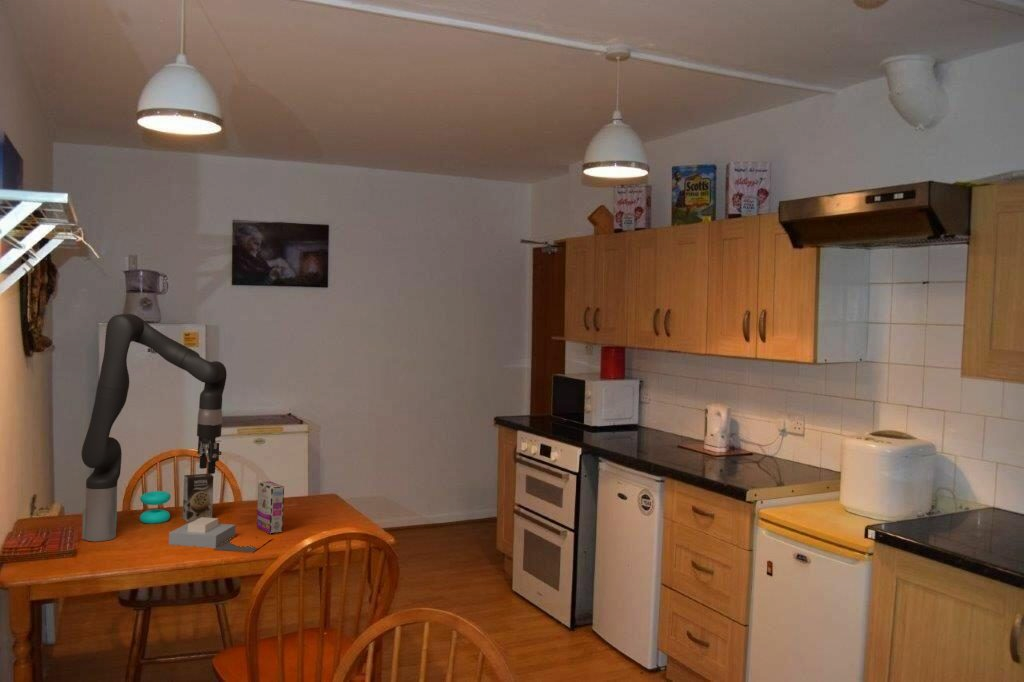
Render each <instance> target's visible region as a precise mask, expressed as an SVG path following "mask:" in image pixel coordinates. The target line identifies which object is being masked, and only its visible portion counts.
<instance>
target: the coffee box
mask: <svg viewBox="0 0 1024 682" xmlns="http://www.w3.org/2000/svg"><path fill="white" fill-rule="evenodd" d="M182 497H183V500H182V519H183V520H184V521H185V522H187V523H189V522H193V521H195V520H197V519H199V518H201V517H205V518H213V503H214V501H213V500H214V499H213V498H214V475H213V474H208V473H199V474H195V473H194V474H186V475H183V496H182Z"/></svg>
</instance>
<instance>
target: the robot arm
mask: <svg viewBox="0 0 1024 682" xmlns="http://www.w3.org/2000/svg"><path fill="white" fill-rule="evenodd" d="M104 338H105V339H104V350H103V358H102V363H101V366H100V367H101V368H100V372H99V373H100V374H99V377H98V382H97V386H96V391H95V396H94V397H95V398H94V403H93V406H92V413H91V416H90V420H89V421H90V422H89V425H88V428H87V432H86V434H85V438H84V441H83V444H82V448H81V460H82V462H83V464H84V465H85V466H86V467H87V468H91V469H94V470H93V472H91V474H90V475H89V476H88V477H87V478H86V481H85V509H83V510H82V523H81V524H82V525H81V526H82V529H81V539H82V540H85V541H87V542H88V541H89V542H106V541H109V540H113V539H115V538H116V537H117V518H118V517H117V513H118V511H117V510H118V481H119V479H120V477H121V476H120V475H121V469H122V452H123V451H122V446H121V444H120V442H119V441H118V440H117V438H115V437H111V436H110V434H111V429H112V427H113V425H114V423H115V421H116V420H117V419H118V416H119V415H120V413H122V410H123V409H124V407H125V405H126V402H127V398H128V394H129V389H130V374H129V370H128V364H127V363H128V362H127V361H128V359H127V358H128V354H129V348H130V345H131V343H132V342H134V343H136V344H141V345H143V346H145V347H148V348H149V349H151V350H153V351H154V352H156V354H158V355H159V356H160V357H162V358H163V359H164V360H166V361H167V362H168V363H169V364H172V365H174V366H175V367H178V368H179V369H181V370H182V371H185V372H187V373H188V374H189V375H191V376H192V377H193V378H194V379H197V380H198V381H200V382H201V383H204V387H203V390H202V391H201V392H200V394H199V401H198V402H199V405H198V413H197V421H196V422H197V424H196V425H197V426H196V427H197V428H196V436H197V437H198V443H197V451H196V452H197V453H196V454H197V455H198V457H199V468H200V469H207V474H210V475H214V474H215V473H216V464H217V462H219V460H220V443H219V442H217V441H216V439H217V438H220V437H221V436H222V425H223V424H222V423H223V408H222V407H223V393H224V391H225V386H226V383H227V382H226V381H227V369H226V366H225V364H224V363H222V362H220V361H216V360H214V361H209V360H206V359H204V358H203V357H201V356H200V354H199V352H197V351H196V350H193V349H192V348H190V347H187V346H186V345H184V344H182V343H180V342H179V341H176V340H174V339H173V338H170V336H169V337H168V336H167V335H165V334H164V333H162V332H160V331H159V330H158V329H156V328H154V327H153V326H152V325H151V324H149V323H148V322H147V321H145V320H144V319H142V318H141V317H139V316H138V315H136V314H132V313H124V314H123V313H121V314H115V315H113V316H111V318H110V319H109V320H108V322H107V324H106V328H105V337H104Z"/></svg>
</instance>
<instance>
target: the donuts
mask: <svg viewBox="0 0 1024 682" xmlns="http://www.w3.org/2000/svg"><path fill="white" fill-rule="evenodd" d="M171 497H172V496H171V494H170V492H167V491H161V490H155V491H154V490H153V491H147V492H143V494H141V495H140V498H139V499H140V502H141V503H142V504H145V505H148V506H159V505H163V504H166V503H168V502H169V501H170V500H171ZM170 518H171V514H170V512H169V511H167V510H165V509H160V508H159V509H158V508H156V509H149V510H145V511H144V512H142V513H141V514H140V515H139V520H140V521H141V522H142V523H144V524H161V523H165V522H168V521H169V520H170Z"/></svg>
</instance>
